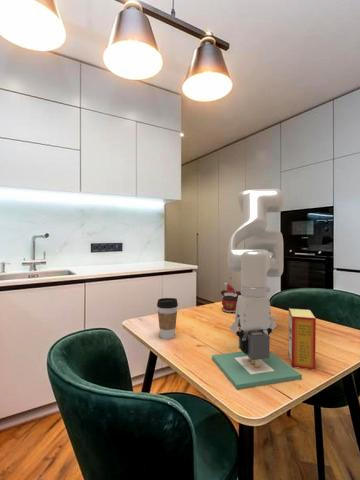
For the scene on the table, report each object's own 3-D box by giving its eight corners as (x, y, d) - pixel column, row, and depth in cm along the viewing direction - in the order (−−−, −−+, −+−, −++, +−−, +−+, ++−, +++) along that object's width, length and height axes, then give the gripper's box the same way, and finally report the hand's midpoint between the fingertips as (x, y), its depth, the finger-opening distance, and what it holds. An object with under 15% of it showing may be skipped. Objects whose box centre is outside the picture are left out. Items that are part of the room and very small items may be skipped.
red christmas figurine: (242, 309, 146) (242, 276, 146) (239, 314, 137) (239, 279, 137) (223, 307, 150) (223, 275, 149) (219, 312, 141) (219, 278, 141)
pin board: (266, 351, 94) (266, 337, 93) (301, 378, 76) (301, 360, 76) (211, 358, 89) (211, 343, 88) (236, 389, 71) (236, 369, 71)
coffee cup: (170, 342, 102) (170, 302, 102) (152, 337, 107) (152, 299, 107) (181, 334, 110) (181, 298, 109) (164, 331, 114) (164, 295, 114)
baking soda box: (288, 353, 92) (288, 307, 92) (309, 356, 90) (309, 308, 90) (291, 367, 83) (292, 315, 83) (315, 370, 81) (315, 317, 81)
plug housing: (254, 346, 87) (254, 326, 87) (269, 358, 79) (269, 335, 79) (238, 348, 85) (238, 327, 85) (252, 360, 77) (252, 337, 77)
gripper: (271, 288, 88) (271, 343, 88) (222, 290, 83) (222, 349, 84) (286, 292, 80) (285, 353, 81) (233, 296, 76) (233, 360, 76)
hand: (253, 350), depth 82 cm, fingers closed on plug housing, 5 cm apart
